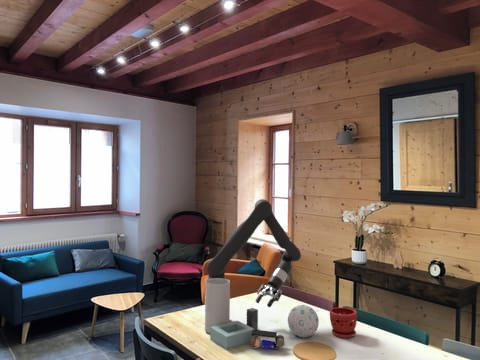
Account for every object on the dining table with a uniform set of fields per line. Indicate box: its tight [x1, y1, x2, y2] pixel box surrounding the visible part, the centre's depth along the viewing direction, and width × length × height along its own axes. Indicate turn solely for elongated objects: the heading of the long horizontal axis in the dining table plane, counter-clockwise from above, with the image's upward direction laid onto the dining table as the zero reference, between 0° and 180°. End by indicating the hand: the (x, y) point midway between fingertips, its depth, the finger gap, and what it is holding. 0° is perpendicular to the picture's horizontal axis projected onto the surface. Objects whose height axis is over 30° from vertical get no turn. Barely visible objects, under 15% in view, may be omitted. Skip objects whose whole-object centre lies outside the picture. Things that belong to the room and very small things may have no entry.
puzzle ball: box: [287, 304, 320, 338], centre depth 186 cm, size 15×15×15 cm
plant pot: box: [329, 306, 358, 339], centre depth 189 cm, size 13×13×12 cm
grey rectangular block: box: [246, 307, 259, 330], centre depth 191 cm, size 6×4×11 cm, turn 131°
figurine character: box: [250, 329, 285, 351], centre depth 172 cm, size 7×8×15 cm
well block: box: [209, 320, 255, 351], centre depth 180 cm, size 14×16×6 cm
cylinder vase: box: [204, 278, 231, 334], centre depth 193 cm, size 12×12×25 cm
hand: (262, 304), depth 197 cm, fingers open, 8 cm apart
